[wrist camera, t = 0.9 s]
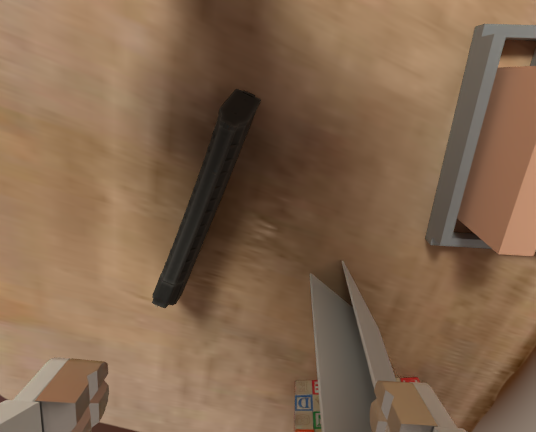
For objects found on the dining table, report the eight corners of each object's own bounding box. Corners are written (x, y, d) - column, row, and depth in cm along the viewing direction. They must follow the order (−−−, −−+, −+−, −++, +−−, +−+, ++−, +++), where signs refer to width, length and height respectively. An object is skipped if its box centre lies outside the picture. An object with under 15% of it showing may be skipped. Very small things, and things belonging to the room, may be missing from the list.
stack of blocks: (418, 375, 57) (449, 448, 46) (417, 401, 60) (446, 477, 48) (294, 380, 60) (294, 450, 49) (297, 405, 62) (298, 478, 51)
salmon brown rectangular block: (486, 68, 39) (562, 64, 28) (517, 69, 39) (606, 66, 28) (449, 211, 46) (498, 254, 35) (475, 213, 46) (533, 256, 35)
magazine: (233, 65, 33) (121, 336, 35) (264, 80, 33) (150, 347, 36) (239, 103, 50) (164, 284, 52) (260, 112, 50) (183, 292, 53)
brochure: (309, 273, 51) (326, 503, 24) (342, 259, 50) (403, 486, 22) (347, 340, 55) (399, 600, 28) (378, 328, 54) (467, 590, 26)
